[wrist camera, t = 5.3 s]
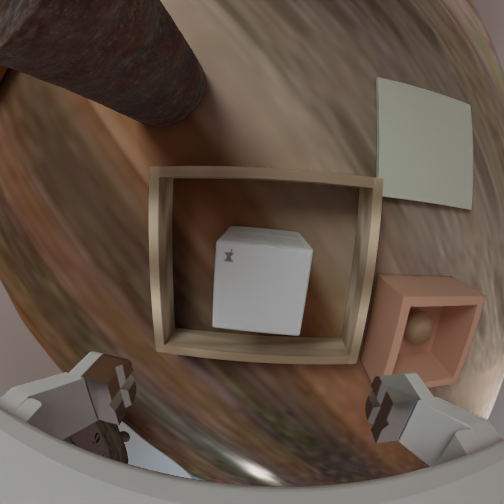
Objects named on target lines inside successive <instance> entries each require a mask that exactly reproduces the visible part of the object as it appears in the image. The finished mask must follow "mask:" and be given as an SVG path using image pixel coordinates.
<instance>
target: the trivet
mask: <svg viewBox="0 0 504 504" xmlns="http://www.w3.org/2000/svg"><path fill="white" fill-rule="evenodd" d="M375 81H376V102H377V165H376V178H382V179H383V195H382V196H383V197H391V198H399V199H406V200H413V201H420V202H427V203H433V204H440V205H446V206H452V207H458V208H463V209H469V210H471V207H472V191H473V134H472V118H471V107H470V105H469V104H467V103H464V102H462V101H459V100H456V99H453V98H451V97H448V96H445V95H442V94H439V93H436V92H433V91H429V90H426V89H423V88H419V87H416V86H412V85H409V84H405V83H401V82H397V81H393V80H389V79H385V78H380V77H377V78H376V79H375Z"/></svg>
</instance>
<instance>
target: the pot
mask: <svg viewBox="0 0 504 504" xmlns="http://www.w3.org/2000/svg"><path fill="white" fill-rule="evenodd" d="M484 300H485V295H483V294H482V293H480V292H478V291H476V290H475V289H473V288H471V287H469V286H468V285H466V284H464V283H462V282H460V281H459V280H457V279H455V278H453V277H447V276H415V275H388V274H377V276H376V282H375V288H374V294H373V300H372V305H371V311H370V316H369V321H368V326H367V330H366V335H365V340H364V344H363V348H362V353H361V357H360V360H361V362H362V364H363V366H364V368H365V370H366V372H367V374H368V376H369V378H370V380H371V382H373V379H374V378H375V376H385V375H396V374H402V373H409V372H415V373H417V374H418V375H419V377H420V378H421V379H422V381H423V382H424V384H425V385H426V386H427V388H431V387H437V386H443V385H448V384H453V383H457V380H458V378H459V375H460V373H461V370H462V368H463V365H464V363H465V360H466V358H467V355H468V352H469V349H470V346H471V344H472V341H473V338H474V335H475V331H476V328H477V325H478V322H479V318H480V315H481V311H482V307H483V304H484ZM415 311H422V312H425V313H427V314H428V315H429V316H430V317H431V319H432V322H433V332H432V334H431V336H430V338H429V339H428V340H427V341H426V342H424V343H422V344H419V345H414V344H411V343H409V342H407V341H406V340H405V338H404V337H403V335H404V331H405V327H406V323H407V319H408V315H409V314H410V313H412V312H415Z"/></svg>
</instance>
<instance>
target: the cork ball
mask: <svg viewBox="0 0 504 504" xmlns="http://www.w3.org/2000/svg"><path fill="white" fill-rule="evenodd" d="M432 332H433V322H432V319H431V317H430V316H429V315H428V314H427V313H425V312H422V311H415V312H412V313H410V314H409V315H408V319H407V323H406V327H405V331H404V335H403V337H404V338H405V340H406V341H407V342H409V343H411V344H414V345H419V344H422V343H424V342H426V341H427V340H428V339H429V338H430V336H431V334H432Z"/></svg>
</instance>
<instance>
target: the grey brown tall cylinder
mask: <svg viewBox="0 0 504 504" xmlns="http://www.w3.org/2000/svg"><path fill="white" fill-rule="evenodd" d="M0 66H3V67H7V68H11V69H13V70H16V71H19V72H22V73H25V74H29V75H31V76H33V77H35V78H38V79H40V80H43V81H46V82H48V83H51V84H54V85H57V86H60V87H62V88H65V89H67V90H69V91H71V92H74V93H76V94H79V95H81V96H83V97H85V98H88V99H90V100H93V101H95V102H97V103H100V104H102V105H104V106H106V107H108V108H111V109H113V110H115V111H117V112H119V113H121V114H124V115H126V116H128V117H130V118H132V119H134V120H137V121H139V122H141V123H143V124H146V125H149V126H167V125H171V124H174V123H176V122H179V121H181V120H182V119H184V118H185V117H186V116H187V115H188V114H190V113H191V112H192V110H193V109H194V108H195V107H196V106H197V105H198V104H199V102H200V101H201V98H202V96H203V93H204V90H205V86H206V77H205V73H204V71H203V68H202V66H201V65H200V63H199V61H198V60H197V58H196V56H195V54H194V53H193V51H192V49H191V48H190V46H189V45H188V43H187V42H186V40H185V38H184V37H183V35H182V33H181V32H180V31H179V29H178V28H177V26H176V24H175V22H174V21H173V19H172V18H171V16H170V15H169V13H168V12H167V10H166V9H165V7H164V6H163V4H162V3H161V1H160V0H0Z"/></svg>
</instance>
